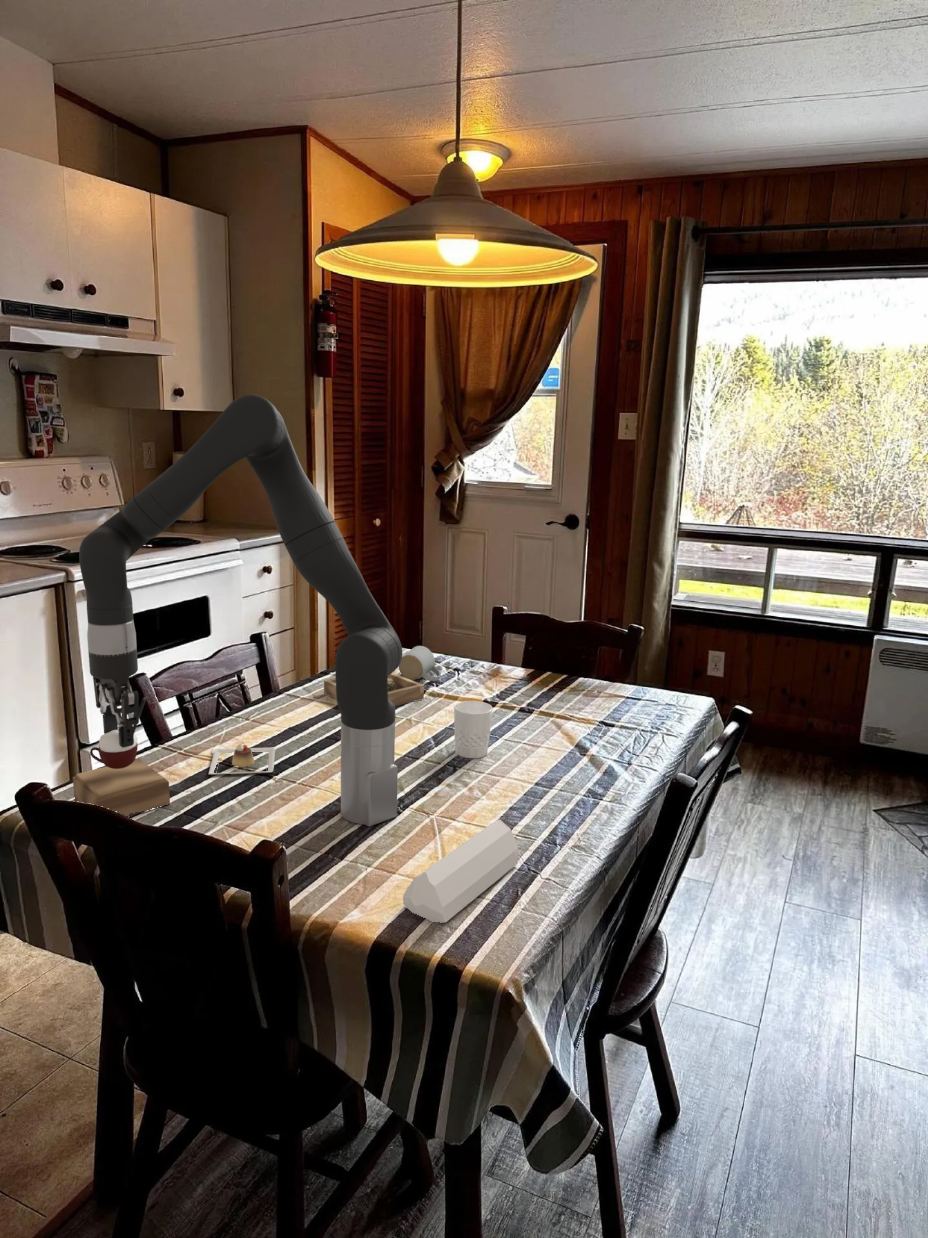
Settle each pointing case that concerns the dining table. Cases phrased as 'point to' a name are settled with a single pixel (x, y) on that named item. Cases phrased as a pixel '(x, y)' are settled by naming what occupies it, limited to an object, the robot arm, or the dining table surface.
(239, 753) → the dessert
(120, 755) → the cocoa
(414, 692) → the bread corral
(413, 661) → the ceramic mug
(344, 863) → the dining table surface
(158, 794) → the walnut pedestal
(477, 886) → the crystal
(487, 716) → the white cup
